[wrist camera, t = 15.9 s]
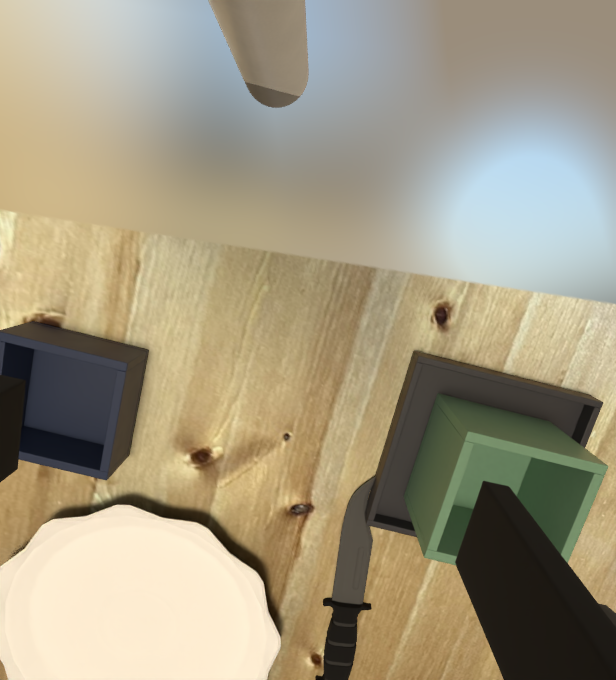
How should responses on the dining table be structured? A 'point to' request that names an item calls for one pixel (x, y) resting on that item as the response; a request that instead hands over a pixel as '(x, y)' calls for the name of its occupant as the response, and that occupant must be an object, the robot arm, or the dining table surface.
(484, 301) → the dining table surface
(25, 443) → the navy tub
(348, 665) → the knife
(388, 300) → the dining table surface
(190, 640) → the plate
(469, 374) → the tray
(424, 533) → the green tub
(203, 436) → the dining table surface
